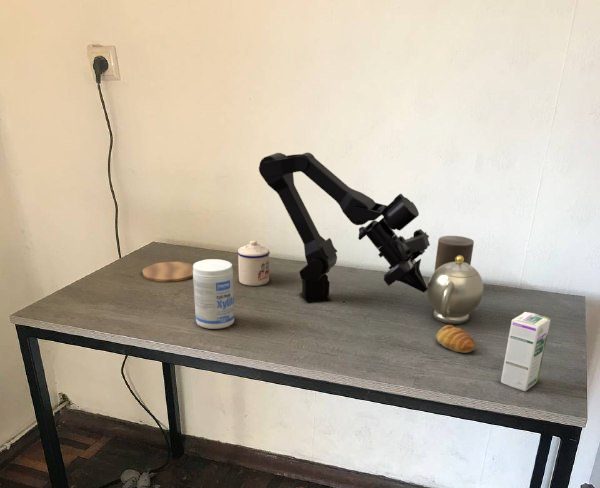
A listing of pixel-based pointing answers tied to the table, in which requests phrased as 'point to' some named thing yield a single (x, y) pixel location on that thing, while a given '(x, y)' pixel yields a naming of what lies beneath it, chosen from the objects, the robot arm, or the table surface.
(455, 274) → the teapot
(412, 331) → the table surface
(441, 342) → the pastry
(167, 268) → the wooden trivet
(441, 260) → the pillar candle
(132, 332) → the table surface
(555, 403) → the table surface
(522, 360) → the syrup box
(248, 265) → the teacup with lid
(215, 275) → the supplement tub
